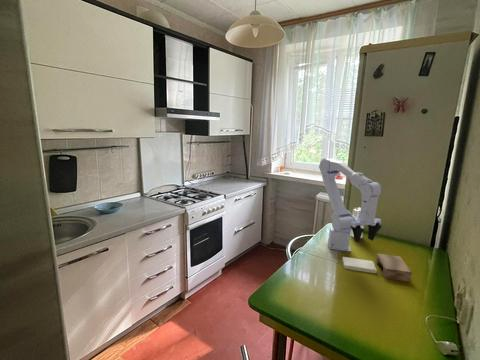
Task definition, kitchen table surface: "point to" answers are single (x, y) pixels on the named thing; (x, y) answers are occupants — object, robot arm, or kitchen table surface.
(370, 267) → the tile
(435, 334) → the kitchen table surface
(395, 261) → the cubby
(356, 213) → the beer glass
